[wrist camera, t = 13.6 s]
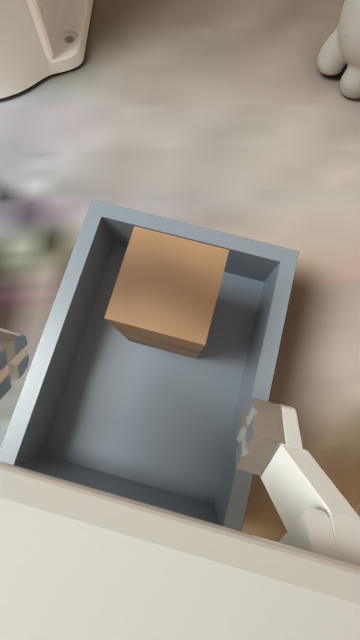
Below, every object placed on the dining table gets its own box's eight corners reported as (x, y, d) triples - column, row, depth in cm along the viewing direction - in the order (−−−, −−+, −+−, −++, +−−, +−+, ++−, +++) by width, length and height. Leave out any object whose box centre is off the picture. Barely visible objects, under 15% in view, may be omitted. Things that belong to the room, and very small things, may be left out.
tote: (108, 234, 26) (91, 199, 21) (275, 277, 25) (298, 251, 20) (29, 461, 22) (-13, 483, 17) (222, 518, 21) (236, 558, 16)
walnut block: (148, 278, 24) (134, 225, 16) (212, 294, 24) (229, 250, 16) (129, 341, 23) (104, 318, 15) (195, 358, 23) (205, 345, 15)
